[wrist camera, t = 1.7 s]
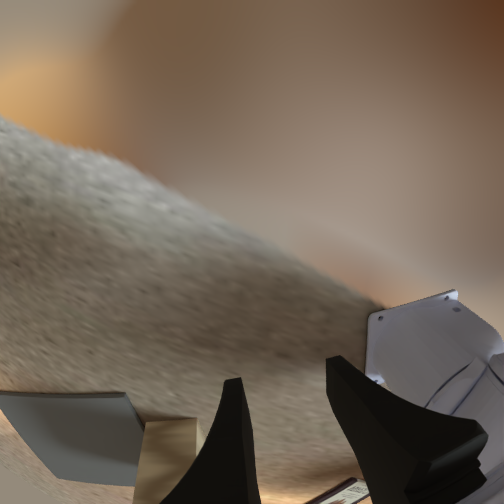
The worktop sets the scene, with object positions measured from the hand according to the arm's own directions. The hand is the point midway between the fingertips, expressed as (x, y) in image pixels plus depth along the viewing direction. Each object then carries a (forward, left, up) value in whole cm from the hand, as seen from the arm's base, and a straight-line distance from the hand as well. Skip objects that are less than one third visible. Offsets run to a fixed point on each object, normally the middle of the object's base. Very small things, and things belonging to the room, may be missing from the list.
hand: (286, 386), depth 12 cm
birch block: (+10, +16, -11) cm, 22 cm away
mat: (+22, +16, -10) cm, 29 cm away
